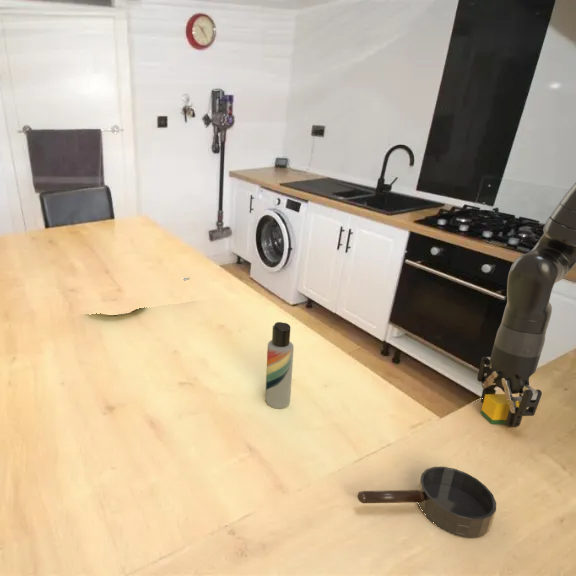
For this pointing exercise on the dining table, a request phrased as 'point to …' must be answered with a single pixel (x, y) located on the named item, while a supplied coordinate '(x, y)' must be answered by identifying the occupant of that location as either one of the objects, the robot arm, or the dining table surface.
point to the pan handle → (391, 496)
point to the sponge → (496, 408)
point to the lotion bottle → (279, 367)
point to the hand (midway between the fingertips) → (498, 414)
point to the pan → (457, 502)
